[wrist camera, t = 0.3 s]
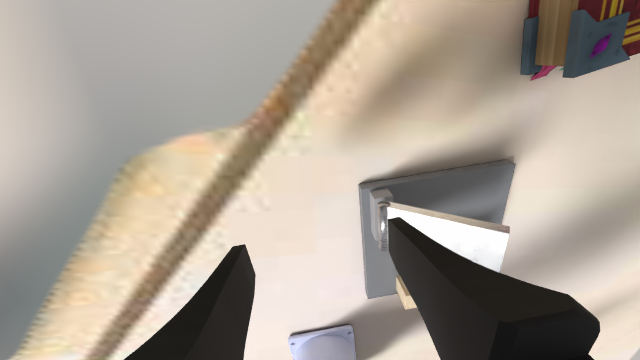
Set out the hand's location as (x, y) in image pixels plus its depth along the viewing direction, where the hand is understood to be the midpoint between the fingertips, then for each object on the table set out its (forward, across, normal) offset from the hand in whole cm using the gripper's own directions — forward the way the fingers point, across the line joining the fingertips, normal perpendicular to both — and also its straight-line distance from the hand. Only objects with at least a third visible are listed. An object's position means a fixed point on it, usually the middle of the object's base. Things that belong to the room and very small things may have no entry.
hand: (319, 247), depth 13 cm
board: (+10, -11, +9) cm, 18 cm away
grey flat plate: (+7, -6, +5) cm, 10 cm away
